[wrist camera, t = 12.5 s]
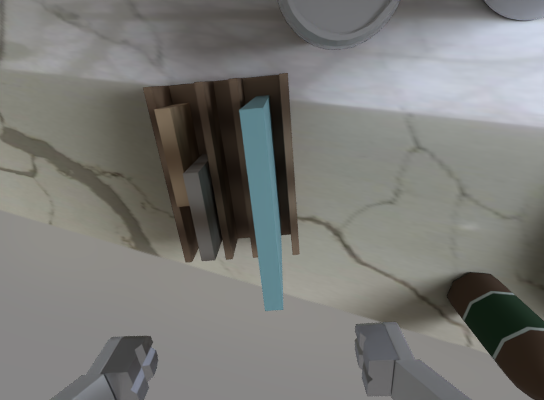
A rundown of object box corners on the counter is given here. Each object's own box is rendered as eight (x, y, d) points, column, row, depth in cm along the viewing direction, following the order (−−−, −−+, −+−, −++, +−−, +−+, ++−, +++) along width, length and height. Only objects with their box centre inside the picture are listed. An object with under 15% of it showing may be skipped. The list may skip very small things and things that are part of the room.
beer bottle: (447, 315, 46) (603, 531, 24) (443, 276, 43) (616, 481, 21) (498, 304, 45) (710, 519, 23) (497, 264, 43) (739, 465, 20)
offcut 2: (202, 154, 35) (182, 173, 28) (214, 153, 35) (197, 172, 28) (215, 226, 39) (201, 261, 32) (226, 225, 39) (215, 260, 32)
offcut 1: (176, 104, 33) (154, 109, 27) (189, 102, 33) (169, 108, 27) (193, 186, 37) (177, 206, 31) (204, 185, 37) (191, 205, 31)
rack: (166, 86, 34) (142, 87, 28) (286, 74, 33) (288, 72, 27) (198, 235, 41) (185, 262, 35) (296, 228, 41) (300, 254, 35)
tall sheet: (256, 96, 33) (239, 110, 18) (269, 95, 33) (263, 107, 18) (269, 222, 39) (265, 310, 24) (280, 221, 39) (283, 309, 24)
